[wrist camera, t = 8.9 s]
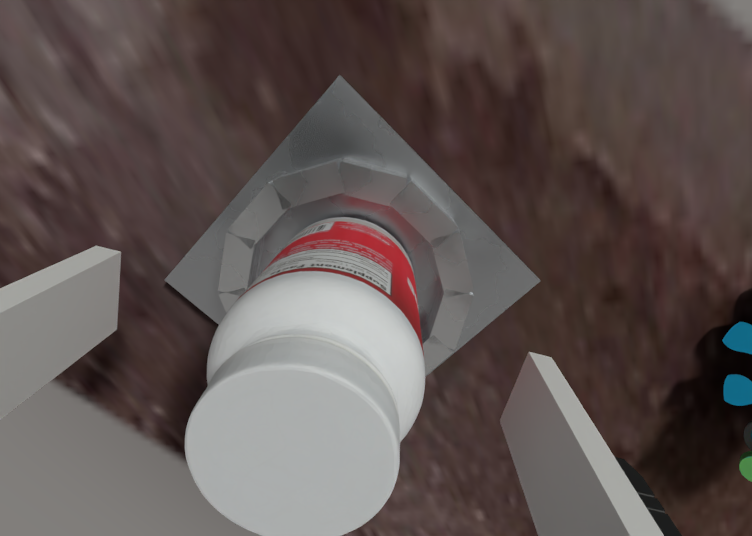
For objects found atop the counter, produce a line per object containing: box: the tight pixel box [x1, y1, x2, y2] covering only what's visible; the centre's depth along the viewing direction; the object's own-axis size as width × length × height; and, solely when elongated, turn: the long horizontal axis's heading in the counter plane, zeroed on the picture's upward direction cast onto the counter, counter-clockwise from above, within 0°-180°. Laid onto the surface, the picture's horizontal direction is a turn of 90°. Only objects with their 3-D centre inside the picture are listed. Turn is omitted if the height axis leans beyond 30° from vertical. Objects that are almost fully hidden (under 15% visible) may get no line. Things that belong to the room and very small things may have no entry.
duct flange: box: [165, 75, 540, 377], centre depth 19 cm, size 12×12×2 cm
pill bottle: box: [185, 217, 425, 536], centre depth 15 cm, size 6×6×11 cm
